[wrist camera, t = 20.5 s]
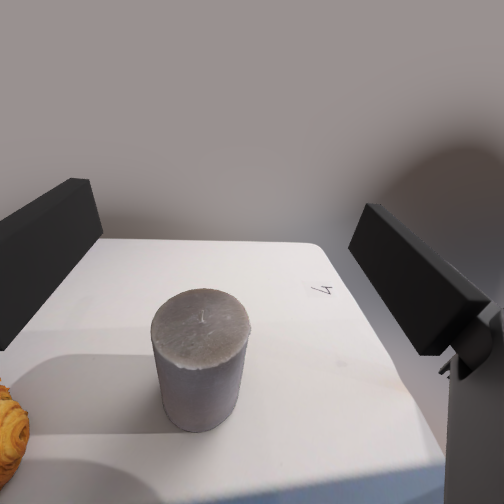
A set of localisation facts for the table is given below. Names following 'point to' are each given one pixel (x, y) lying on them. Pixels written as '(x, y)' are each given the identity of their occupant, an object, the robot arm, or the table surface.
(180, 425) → the pillar candle
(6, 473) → the croissant
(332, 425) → the table surface
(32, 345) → the table surface
